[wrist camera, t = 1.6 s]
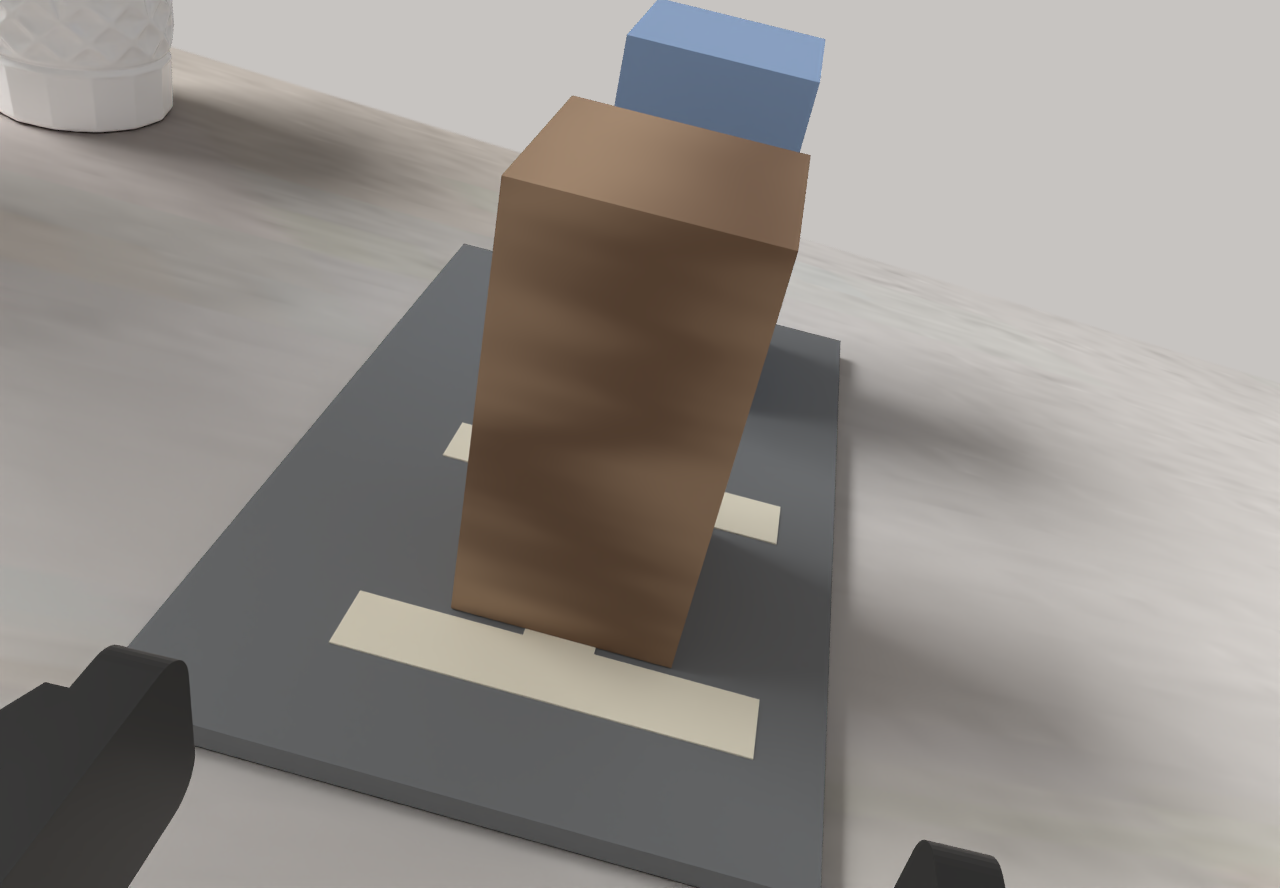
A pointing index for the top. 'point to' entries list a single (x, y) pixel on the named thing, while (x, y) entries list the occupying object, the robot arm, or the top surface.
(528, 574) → the walnut block
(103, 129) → the white cup
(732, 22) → the blue block
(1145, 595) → the top surface
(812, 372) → the letter mat
